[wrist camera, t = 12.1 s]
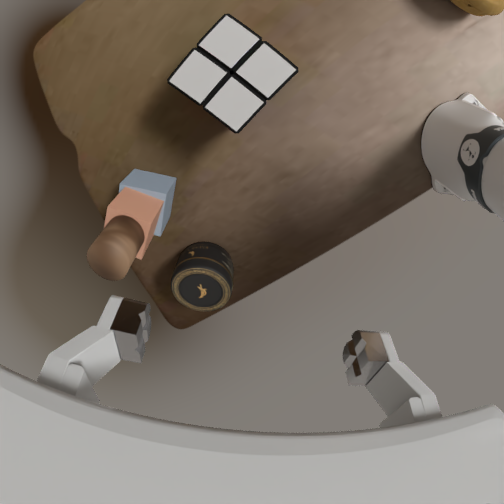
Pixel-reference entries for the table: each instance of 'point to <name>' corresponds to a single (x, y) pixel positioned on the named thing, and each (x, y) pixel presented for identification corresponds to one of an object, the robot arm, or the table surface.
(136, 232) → the walnut cylinder
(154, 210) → the top block
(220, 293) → the jar
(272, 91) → the puzzle cube
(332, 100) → the table surface
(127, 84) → the table surface
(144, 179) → the base block
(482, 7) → the pot
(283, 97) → the table surface
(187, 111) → the table surface
